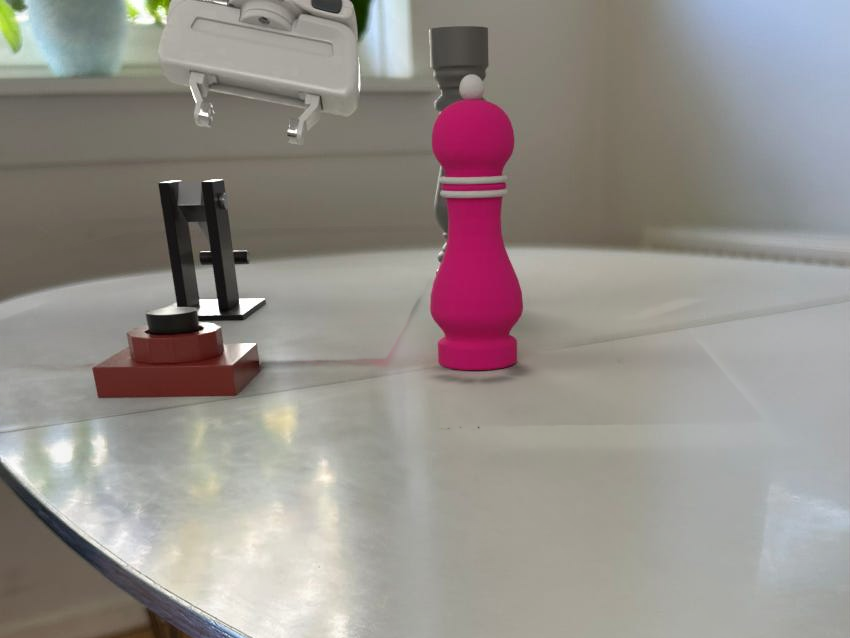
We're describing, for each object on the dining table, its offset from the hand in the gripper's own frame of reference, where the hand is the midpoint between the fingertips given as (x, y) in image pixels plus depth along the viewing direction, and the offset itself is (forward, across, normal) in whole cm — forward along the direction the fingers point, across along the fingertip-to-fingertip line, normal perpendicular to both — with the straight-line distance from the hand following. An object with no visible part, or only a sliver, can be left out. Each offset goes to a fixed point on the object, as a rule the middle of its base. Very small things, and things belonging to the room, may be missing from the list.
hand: (248, 132), depth 101 cm
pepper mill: (+28, +27, -20) cm, 43 cm away
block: (+35, +5, -22) cm, 42 cm away
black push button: (+32, +4, -24) cm, 40 cm away
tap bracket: (+20, 0, 0) cm, 20 cm away
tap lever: (+13, -1, -1) cm, 13 cm away
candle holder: (+11, +24, +5) cm, 28 cm away
